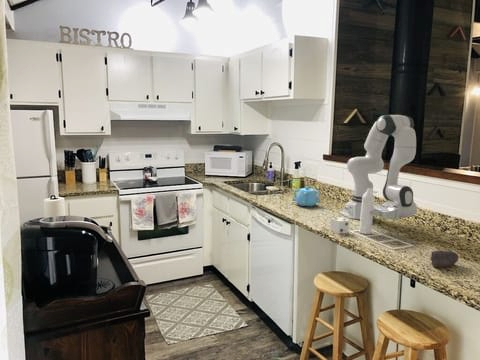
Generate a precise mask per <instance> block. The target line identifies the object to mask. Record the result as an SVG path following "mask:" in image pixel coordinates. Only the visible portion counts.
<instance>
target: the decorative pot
mask: <svg viewBox="0 0 480 360" xmlns="http://www.w3.org/2000/svg"><path fill="white" fill-rule="evenodd" d="M297 191H298V192H297ZM296 192H297V194H296ZM317 194H318V196H317ZM293 195H294V197H293V198H292V200H293V201H294V202H296V204H297V205H298V206H299V207H303V206H304V207H308V208H312V207H313V206H315V205H317V204H318V203H321V199H320V196H321V192H320V191H319V190H315V189H313V188H310V186H304V187H302V188H299V189H298V188H296V189H295V190H294V191H293Z"/></svg>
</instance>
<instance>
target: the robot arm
mask: <svg viewBox="0 0 480 360" xmlns="http://www.w3.org/2000/svg"><path fill="white" fill-rule="evenodd" d="M414 127H415V123H414V119H413V118H412V117H410V116H408V115H402V114H383V115H381V116H379V117H378V118H377V120H376V121H375V122H374V123H373V126H371V129H369V133H368V134H367V137H366V139H365V142H364V144H363V146H364V147H363V148H364V150H365V151H366V153H365V156H355V157H351V158H349V159H348V161H347V163H346V168H347V171H348V172H349V173H350V174H351V175H352V178H353V183H354V188H353V189H354V192H353V195H350V196H351V200H350V201H348V202H346V203H345V204H344V206H343V210H340V211H339V213H338V214H340V215H342V216H345V218H349V220H351V219H352V220H360V216H361V207H362V197H363V195H364V194H365V193H366V192H367V189H368V188H370V189H372V193H373V190H374V183H373V182H372V181H370V179H369V175H371V174H372V175H373V174H377V173H380V172H382V171H383V169H384V166H385V162H384V160H383V158H382V153H383V150H384V148H385V145H386V143H387V141H388V138H389V137H390V136H392V137H394V146H393V153H392V156H391V158H390V160H389V163H388V168H387V174H386V180H385V182H384V183H385V184H384V186H383V189H382V195H383V197H384V199H385V200H386V201H387V202H386V201H385V202H384V203H382V204H381V205H380V204H378V203H374V211H370V214H371V215H373V216H378V217H380V218H383V219H387V220H394V221H397V220H399V218H409V217H413V216H415V214H416V213H417V211H418V206H417V204H416V202H415V201H414V191H413V189H412V188H411V187H410V186H407V185H402V184H399V183H398V181H399V174H400V170H401V168H402V167H404V166H405V165H407V164H409V163H411V162H412V161H413V160H414V159H415V156H416V154H417V136H416V135H417V134H416V131H415V129H414ZM373 194H374V193H373Z"/></svg>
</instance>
